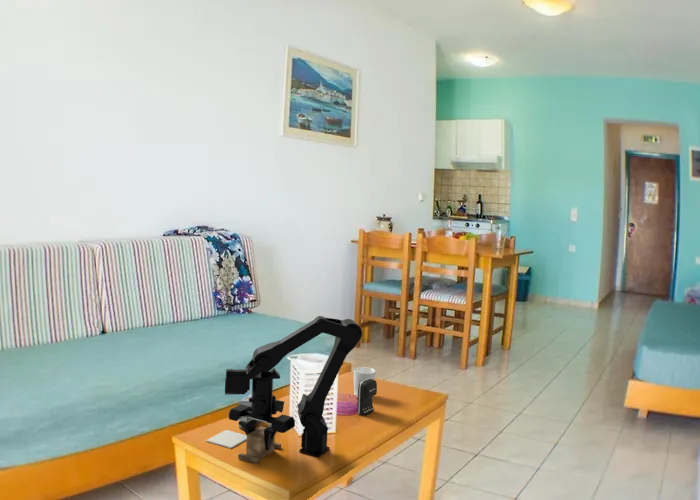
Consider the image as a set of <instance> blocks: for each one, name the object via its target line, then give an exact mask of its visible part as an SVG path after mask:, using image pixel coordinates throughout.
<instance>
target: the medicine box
mask: <svg viewBox="0 0 700 500" xmlns="http://www.w3.org/2000/svg"><path fill="white" fill-rule="evenodd" d="M250 397H252V392H250V393H247V394H245V395H244V396H243V398H241V400H239V401H238V405H240V404H242V405H246V406H250V407H251V404H252V402H249V398H250ZM239 422H240V419H239V420H238V423H239ZM259 422H260V421H258V422H257V424H258V423H259ZM238 428H242V426H241V425H239V424H238ZM242 429H243V428H242Z"/></svg>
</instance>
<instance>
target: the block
mask: <svg viewBox="0 0 700 500" xmlns="http://www.w3.org/2000/svg"><path fill="white" fill-rule="evenodd" d="M266 428H267V427H264V426H260V427H258V428H256V430H255V431H253V432H251V433H249V434H247V440H246V445H245V449H246V450H245V451H246V453H245V454H246V455H249V456H253V457H256V458H259V460H262V459H263V458H265V457H266V456H269V454H271V453H273V452H274V451H275V448H274V442H275V439H276V438H275V436H276V435H275V436H274V439H273V441H272V444H271V446H270V449H269V450H266V448H265V438H264V429H266Z"/></svg>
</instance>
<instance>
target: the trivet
mask: <svg viewBox="0 0 700 500" xmlns="http://www.w3.org/2000/svg"><path fill="white" fill-rule="evenodd" d="M205 441H206V442H207V443H210V444H213V445H217V446H221V447H224V448H228V449H233V448H235V447H237V446H238V445H240V444H242V443H244V442H245V441H246V442H247V435H246V434H242V433H239V432H236V431H232V430H228V429H225V430H223V431H221V432H219V433H217V434H215V435H213V436H211V437H210V438H208V439H206V440H205Z"/></svg>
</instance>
